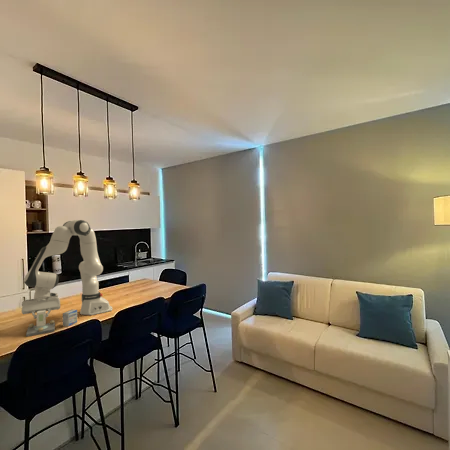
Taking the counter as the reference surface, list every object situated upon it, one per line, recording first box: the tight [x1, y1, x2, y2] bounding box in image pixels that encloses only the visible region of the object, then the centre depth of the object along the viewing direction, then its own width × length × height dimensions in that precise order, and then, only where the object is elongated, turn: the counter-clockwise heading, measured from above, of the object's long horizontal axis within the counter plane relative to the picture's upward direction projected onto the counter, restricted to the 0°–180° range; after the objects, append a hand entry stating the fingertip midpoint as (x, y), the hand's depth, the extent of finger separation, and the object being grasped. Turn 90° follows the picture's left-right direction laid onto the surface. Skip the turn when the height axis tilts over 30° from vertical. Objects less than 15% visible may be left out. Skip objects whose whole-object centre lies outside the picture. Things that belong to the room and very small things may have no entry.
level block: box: [36, 310, 47, 327], centre depth 161 cm, size 4×5×8 cm
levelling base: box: [25, 319, 56, 338], centre depth 161 cm, size 14×14×3 cm
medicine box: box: [62, 309, 78, 328], centre depth 171 cm, size 8×4×9 cm, turn 170°
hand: (41, 317), depth 161 cm, fingers closed on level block, 4 cm apart
